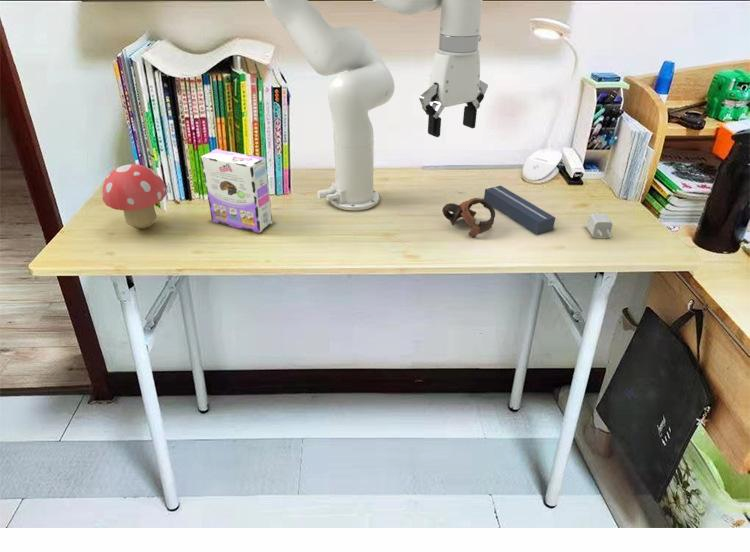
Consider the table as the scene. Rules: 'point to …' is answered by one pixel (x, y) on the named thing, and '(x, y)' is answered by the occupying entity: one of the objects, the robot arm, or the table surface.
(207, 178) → the candy box
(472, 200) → the brown curved looped piece
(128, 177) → the decorative mushroom
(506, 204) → the pencil case
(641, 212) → the table surface
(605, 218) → the usb wall charger
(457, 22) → the robot arm
